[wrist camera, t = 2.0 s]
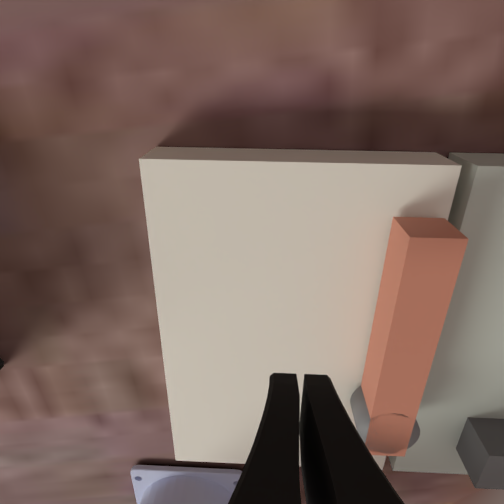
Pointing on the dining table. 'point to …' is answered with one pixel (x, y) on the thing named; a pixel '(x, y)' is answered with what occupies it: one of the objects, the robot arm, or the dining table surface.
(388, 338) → the bar
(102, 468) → the dining table surface
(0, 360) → the ammunition clip
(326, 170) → the pale square platform
